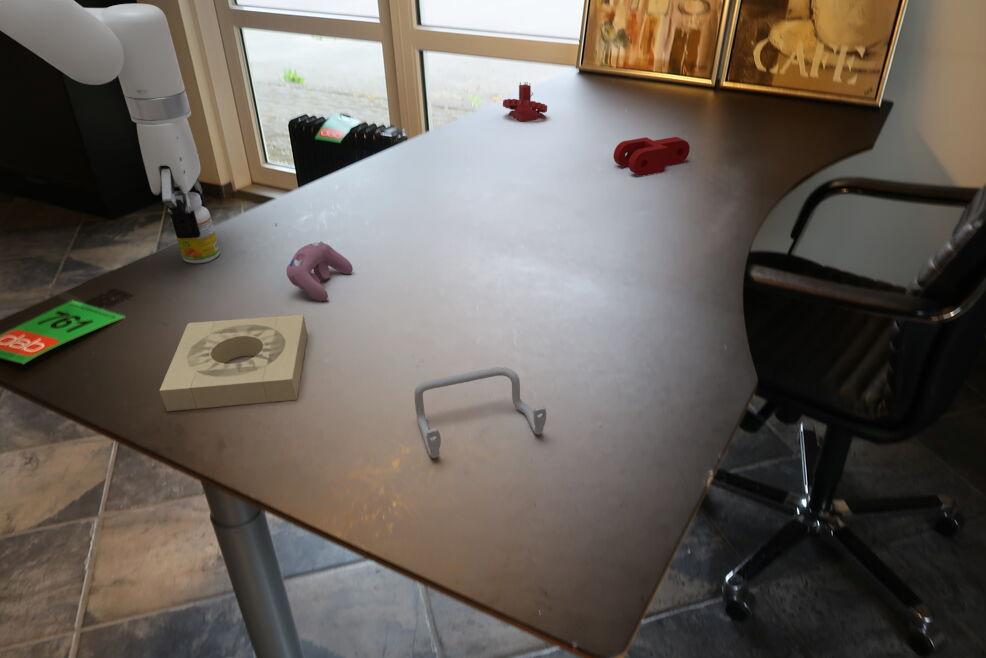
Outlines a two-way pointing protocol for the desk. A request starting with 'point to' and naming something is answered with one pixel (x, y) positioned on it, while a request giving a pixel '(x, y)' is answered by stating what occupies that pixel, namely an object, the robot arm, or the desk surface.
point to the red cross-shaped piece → (525, 106)
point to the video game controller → (315, 268)
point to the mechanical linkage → (650, 154)
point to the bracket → (427, 434)
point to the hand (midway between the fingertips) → (193, 227)
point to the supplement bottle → (206, 243)
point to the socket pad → (258, 380)
